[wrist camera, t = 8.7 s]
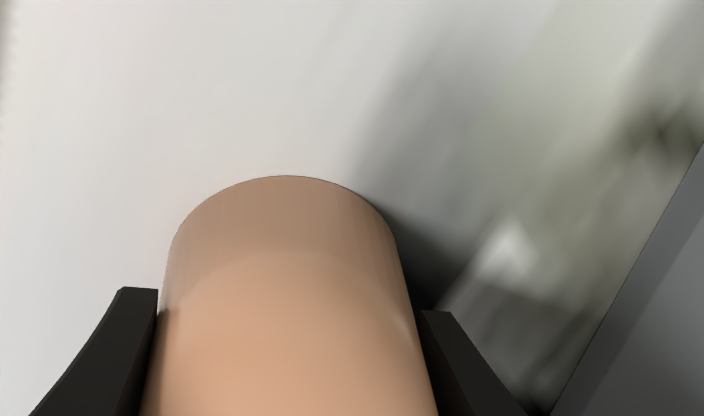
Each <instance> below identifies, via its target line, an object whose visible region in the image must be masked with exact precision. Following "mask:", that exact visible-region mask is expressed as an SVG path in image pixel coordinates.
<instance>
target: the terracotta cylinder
mask: <svg viewBox="0 0 704 416" xmlns="http://www.w3.org/2000/svg"><path fill="white" fill-rule="evenodd" d="M138 416H439V415H438V411H437V407H436V403H435V399H434V395H433V391H432V387H431V383H430V378H429V374H428V370H427V366H426V362H425V358H424V354H423V350H422V346H421V342H420V338H419V334H418V330H417V326H416V322H415V318H414V314H413V310H412V306H411V302H410V298H409V294H408V290H407V286H406V282H405V278H404V274H403V270H402V266H401V262H400V258H399V254H398V250H397V246H396V243H395V239H394V236H393V234H392V232H391V230H390V228H389V226H388V224H387V223H386V222H385V220H384V219H383V217H382V216H381V215H380V214H379V213H378V212H377V210H376V209H375V208H374V207H373V206H372V205H370V204H369V203H368V202H367V201H365V200H364V199H363V198H361V197H360V196H358V195H356V194H355V193H353V192H351V191H350V190H348V189H345V188H343V187H341V186H338V185H336V184H333V183H330V182H327V181H323V180H320V179H314V178H308V177H301V176H270V177H264V178H258V179H252V180H249V181H245V182H242V183H238V184H236V185H233V186H231V187H228V188H226V189H223V190H222V191H220V192H218V193H216V194H214V195H213V196H211V197H209V198H208V199H207V200H205V201H204V202H203V203H201V204H200V205H199V206H197V207H196V208H195V209H194V210H193V211H192V212H191V213H190V214H189V215H188V216H187V218H186V219H185V220H184V222H183V223H182V224H181V225H180V227H179V229H178V231H177V232H176V234H175V236H174V238H173V241H172V244H171V247H170V250H169V255H168V260H167V266H166V271H165V276H164V281H163V287H162V292H161V297H160V302H159V307H158V313H157V318H156V323H155V328H154V334H153V339H152V344H151V349H150V354H149V360H148V365H147V370H146V375H145V380H144V386H143V391H142V396H141V401H140V406H139V412H138Z"/></svg>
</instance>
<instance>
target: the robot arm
mask: <svg viewBox="0 0 704 416" xmlns="http://www.w3.org/2000/svg"><path fill="white" fill-rule="evenodd" d="M157 304H158V289H150V288H137V287H125V286H124V287H122V288H121V289H119V290H118V291H117V293H116V295H115V297H114V299H113V301H112V303H111V304H110V306H109V308H108V309H107V311H106V313H105V315H104V316H103V318H102V319H101V321H100V323H99V324H98V326H97V327H96V329H95V330H94V332H93V333H92V335H91V336H90V338H89V339H88V341H87V342H86V343H85V345H84V346H83V348H82V349H81V350H80V352H79V353H78V354H77V356H76V357H75V358H74V360H73V361H72V363H71V364H70V365H69V367H68V368H67V369H66V371H65V372H64V373H63V375H62V376H61V377H60V378H59V380H58V381H57V382H56V383H55V385H54V386H53V387H52V388H51V389H50V391H49V392H48V393H47V394H46V395H45V397H44V398H43V399H42V400H41V401H40V403H39V404H38V405H37V406H36V407H35V409H34V410H33V411H32V412H31V413H30V414H29V416H138V412H139V406H140V401H141V396H142V391H143V386H144V380H145V375H146V370H147V365H148V360H149V354H150V349H151V344H152V339H153V334H154V328H155V323H156V318H157ZM416 326H417V330H418V334H419V338H420V342H421V346H422V350H423V354H424V358H425V362H426V366H427V370H428V374H429V378H430V383H431V387H432V391H433V395H434V399H435V403H436V407H437V411H438V415H439V416H528V415H527V414H526V413H525V411H524V410H523V409H522V408H521V407H520V405H519V404H518V403H517V402H516V400H515V399H514V398H513V396H512V395H511V394H510V393H509V391H508V390H507V389H506V387H505V386H504V385H503V384H502V382H501V381H500V380H499V378H498V377H497V376H496V374H495V373H494V372H493V370H492V369H491V368H490V366H489V365H488V364H487V362H486V361H485V360H484V358H483V357H482V355H481V354H480V353H479V351H478V350H477V348H476V347H475V346H474V344H473V343H472V342H471V340H470V339H469V337H468V336H467V335H466V333H465V332H464V330H463V329H462V328H461V326H460V325H459V323H458V322H457V321H456V319H455V318H454V317H453V315H452V314H451V312H444V311H432V310H421V312H420V314H419V317H418V320H417V323H416Z"/></svg>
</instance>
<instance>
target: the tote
mask: <svg viewBox="0 0 704 416" xmlns="http://www.w3.org/2000/svg"><path fill="white" fill-rule="evenodd" d="M549 416H704V143H703V145H702V146H701V148H700V150H699V152H698V153H697V155H696V157H695V159H694V160H693V162H692V164H691V166H690V168H689V169H688V171H687V173H686V175H685V176H684V178H683V180H682V182H681V184H680V185H679V187H678V189H677V191H676V192H675V194H674V196H673V198H672V199H671V201H670V203H669V205H668V207H667V208H666V210H665V212H664V214H663V215H662V217H661V219H660V221H659V222H658V224H657V226H656V228H655V230H654V231H653V233H652V235H651V237H650V238H649V240H648V242H647V244H646V245H645V247H644V249H643V251H642V253H641V254H640V256H639V258H638V260H637V261H636V263H635V265H634V267H633V269H632V270H631V272H630V274H629V276H628V277H627V279H626V281H625V283H624V284H623V286H622V288H621V290H620V292H619V293H618V295H617V297H616V299H615V300H614V302H613V304H612V306H611V307H610V309H609V311H608V313H607V315H606V316H605V318H604V320H603V322H602V323H601V325H600V327H599V329H598V330H597V332H596V334H595V336H594V338H593V339H592V341H591V343H590V345H589V346H588V348H587V350H586V352H585V353H584V355H583V357H582V359H581V361H580V362H579V364H578V366H577V368H576V369H575V371H574V373H573V375H572V377H571V378H570V380H569V382H568V384H567V385H566V387H565V389H564V391H563V392H562V394H561V396H560V398H559V400H558V401H557V403H556V405H555V407H554V408H553V410H552V412H551V414H550V415H549Z"/></svg>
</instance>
